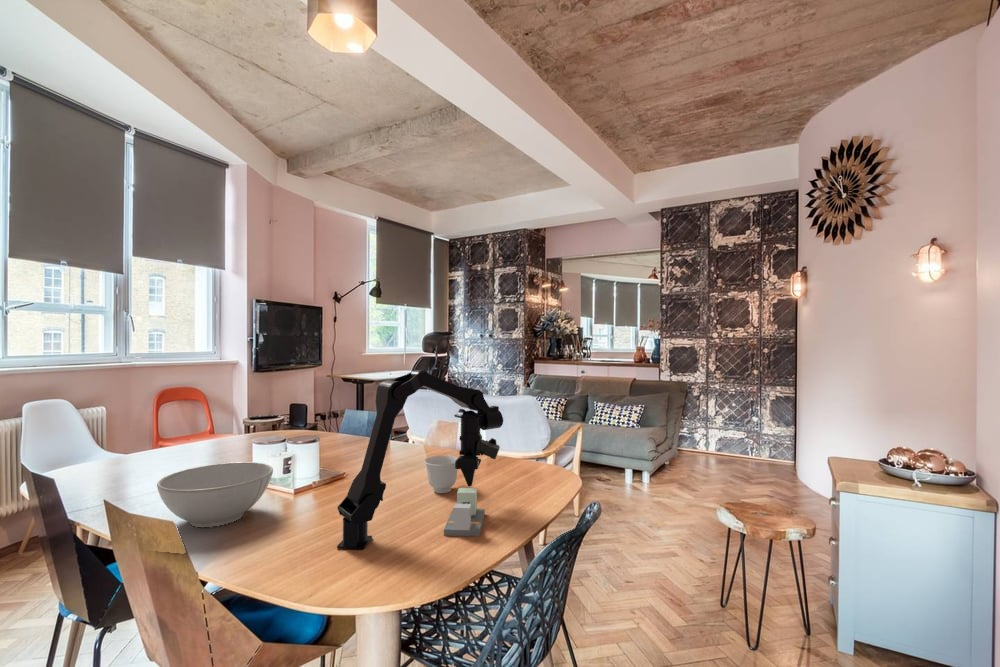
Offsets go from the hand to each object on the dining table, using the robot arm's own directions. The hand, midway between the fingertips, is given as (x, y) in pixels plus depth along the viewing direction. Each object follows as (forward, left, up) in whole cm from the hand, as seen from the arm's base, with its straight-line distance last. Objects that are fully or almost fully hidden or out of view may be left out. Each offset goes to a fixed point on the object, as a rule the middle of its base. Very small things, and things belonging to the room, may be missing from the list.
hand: (469, 485), depth 130 cm
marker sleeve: (-7, 0, -5) cm, 9 cm away
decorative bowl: (-11, +68, -7) cm, 69 cm away
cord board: (-10, 0, -7) cm, 12 cm away
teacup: (+19, +11, -7) cm, 23 cm away
